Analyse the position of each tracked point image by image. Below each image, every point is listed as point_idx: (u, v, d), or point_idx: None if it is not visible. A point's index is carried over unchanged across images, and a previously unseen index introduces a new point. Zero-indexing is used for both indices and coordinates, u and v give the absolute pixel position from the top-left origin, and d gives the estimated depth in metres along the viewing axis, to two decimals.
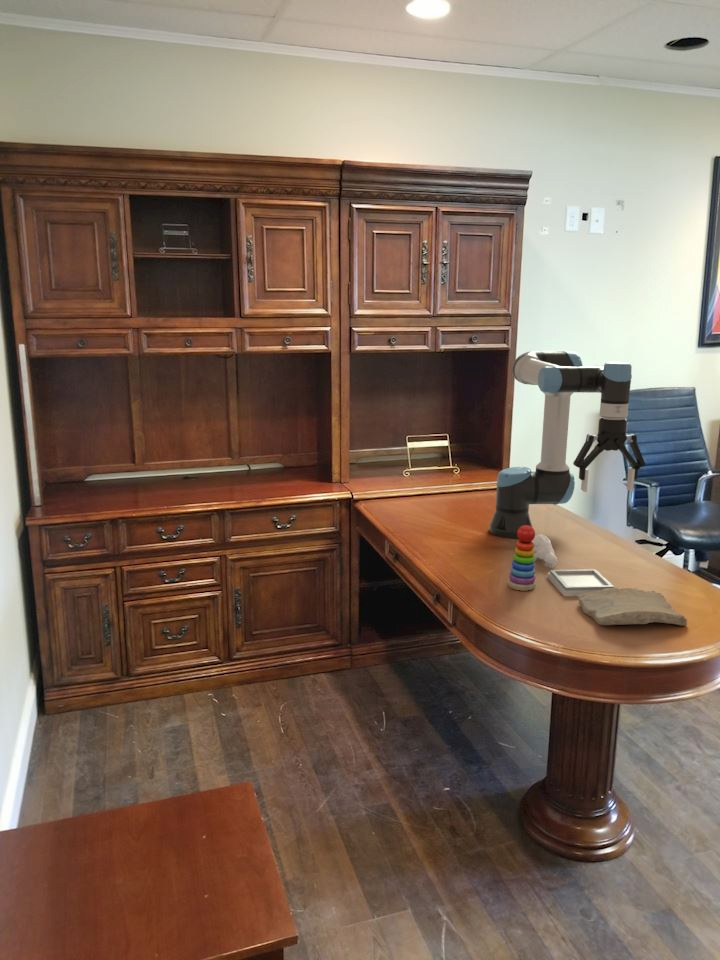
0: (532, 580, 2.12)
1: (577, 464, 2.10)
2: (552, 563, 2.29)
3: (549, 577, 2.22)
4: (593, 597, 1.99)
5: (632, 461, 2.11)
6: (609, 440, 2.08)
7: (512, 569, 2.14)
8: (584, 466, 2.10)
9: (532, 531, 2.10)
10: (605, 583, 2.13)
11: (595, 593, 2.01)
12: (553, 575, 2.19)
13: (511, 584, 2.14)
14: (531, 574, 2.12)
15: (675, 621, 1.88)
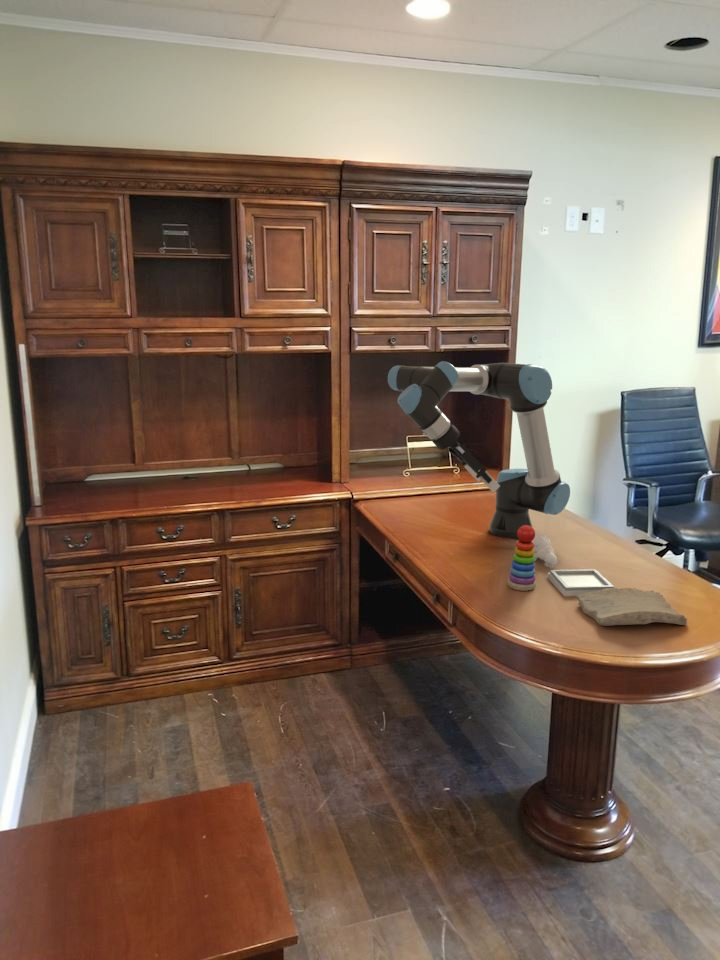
0: (532, 580, 2.12)
1: (458, 460, 2.21)
2: (552, 563, 2.29)
3: (549, 577, 2.22)
4: (593, 598, 1.99)
5: (472, 469, 2.05)
6: (449, 451, 2.11)
7: (512, 569, 2.14)
8: (461, 463, 2.19)
9: (532, 531, 2.10)
10: (605, 583, 2.13)
11: (595, 593, 2.01)
12: (553, 575, 2.19)
13: (511, 584, 2.14)
14: (531, 574, 2.12)
15: (675, 621, 1.88)
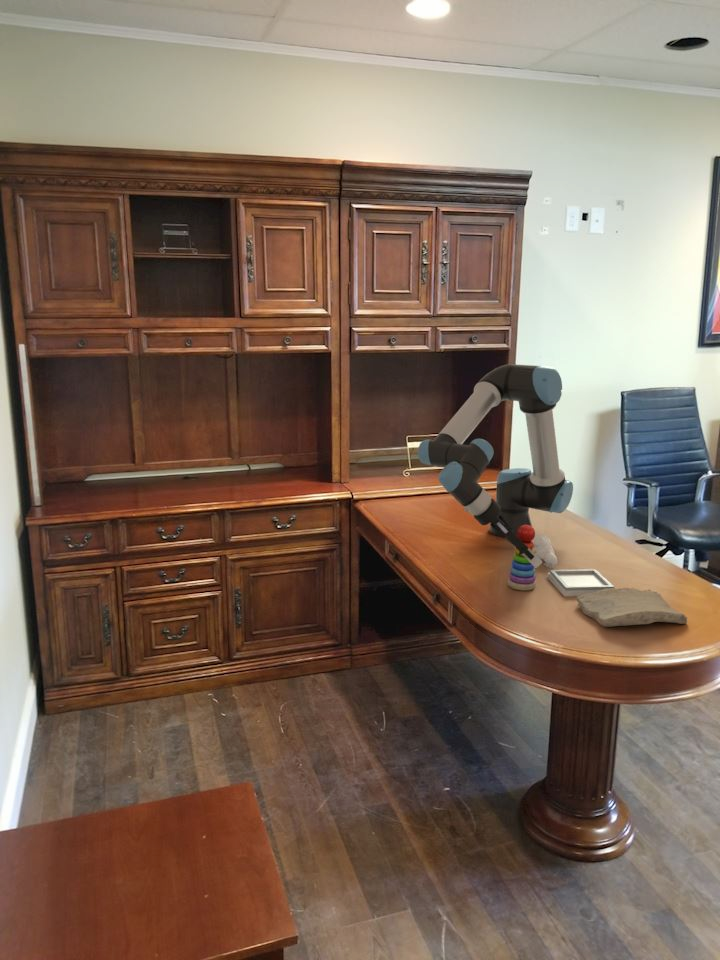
0: (532, 580, 2.12)
1: None
2: (552, 563, 2.29)
3: (549, 577, 2.22)
4: (593, 599, 1.99)
5: None
6: (490, 525, 2.12)
7: (512, 569, 2.14)
8: None
9: (532, 530, 2.10)
10: (605, 583, 2.13)
11: (594, 594, 2.00)
12: (553, 575, 2.19)
13: (511, 584, 2.14)
14: (531, 574, 2.12)
15: (676, 620, 1.89)
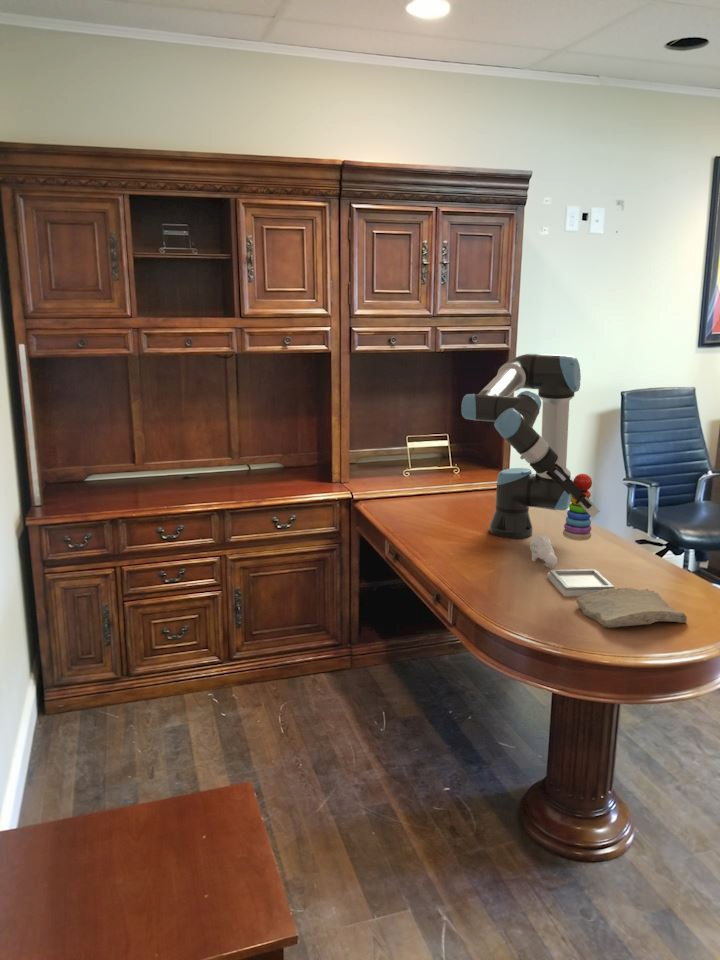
0: (588, 530, 2.09)
1: None
2: (552, 563, 2.29)
3: (549, 577, 2.22)
4: (592, 599, 1.98)
5: (572, 495, 2.06)
6: (546, 473, 2.09)
7: (568, 519, 2.11)
8: (566, 492, 2.14)
9: (589, 479, 2.07)
10: (605, 583, 2.13)
11: (593, 595, 2.00)
12: (553, 575, 2.19)
13: (566, 534, 2.11)
14: (587, 523, 2.09)
15: (677, 619, 1.89)
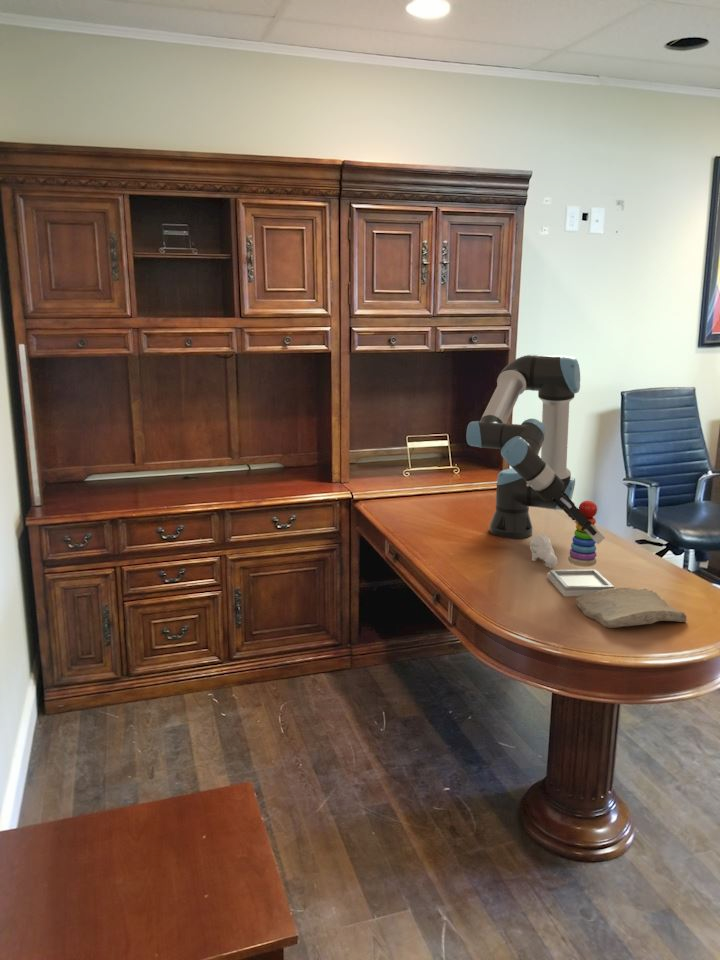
0: (593, 556, 2.11)
1: None
2: (552, 563, 2.29)
3: (549, 577, 2.22)
4: (593, 600, 1.98)
5: (577, 522, 2.08)
6: (552, 500, 2.11)
7: (573, 545, 2.13)
8: (571, 518, 2.16)
9: (594, 506, 2.09)
10: (605, 583, 2.13)
11: (593, 595, 2.00)
12: (553, 575, 2.19)
13: (572, 560, 2.13)
14: (593, 550, 2.11)
15: (677, 618, 1.90)
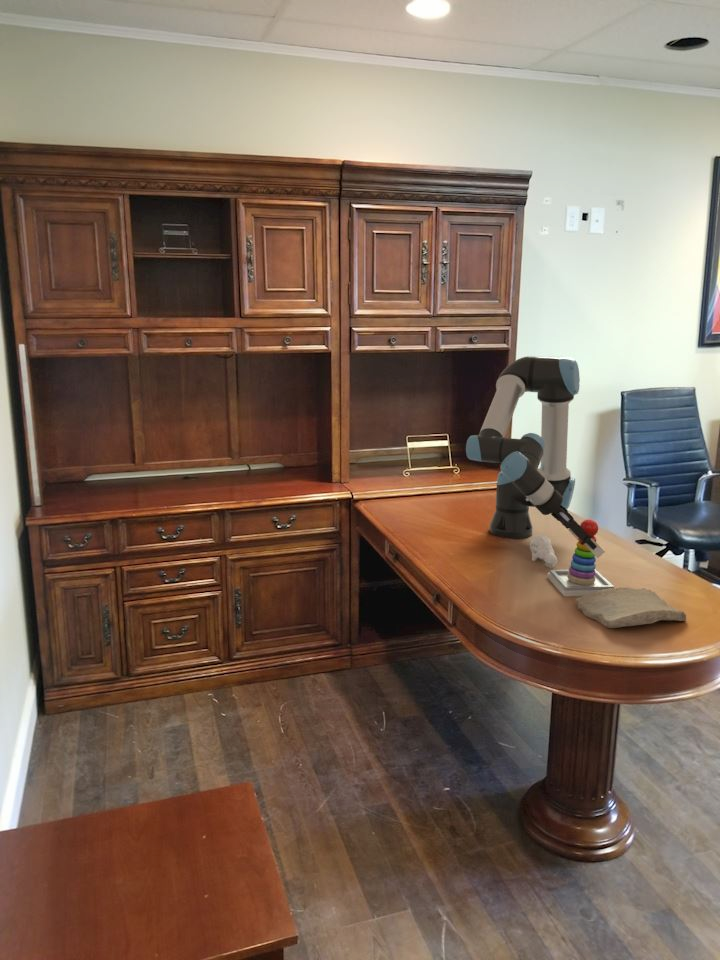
0: (593, 574, 2.13)
1: None
2: (552, 563, 2.29)
3: (549, 577, 2.22)
4: (593, 600, 1.98)
5: (577, 536, 2.07)
6: (551, 514, 2.12)
7: (573, 563, 2.14)
8: None
9: (596, 525, 2.10)
10: (605, 583, 2.13)
11: (593, 595, 1.99)
12: (553, 575, 2.19)
13: (571, 578, 2.14)
14: (592, 568, 2.12)
15: (678, 617, 1.90)
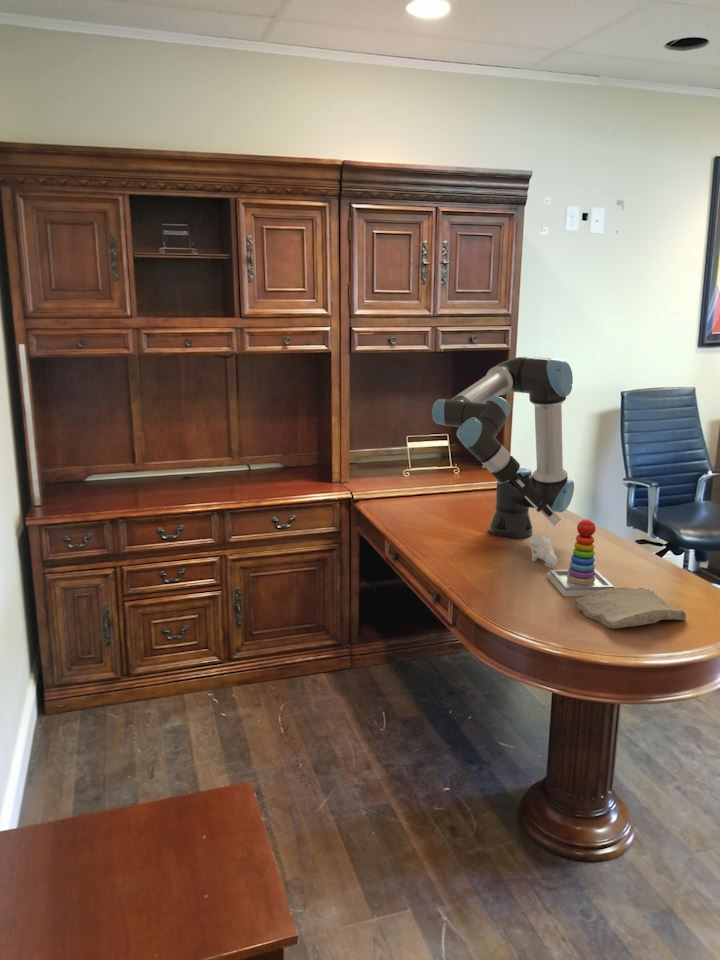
0: (592, 574, 2.13)
1: None
2: (552, 563, 2.29)
3: (549, 577, 2.22)
4: (593, 601, 1.97)
5: (533, 503, 2.03)
6: (509, 482, 2.09)
7: (572, 563, 2.14)
8: (521, 493, 2.17)
9: (593, 525, 2.10)
10: (605, 583, 2.13)
11: (593, 596, 1.99)
12: (553, 575, 2.19)
13: (571, 578, 2.14)
14: (591, 568, 2.12)
15: (678, 617, 1.91)
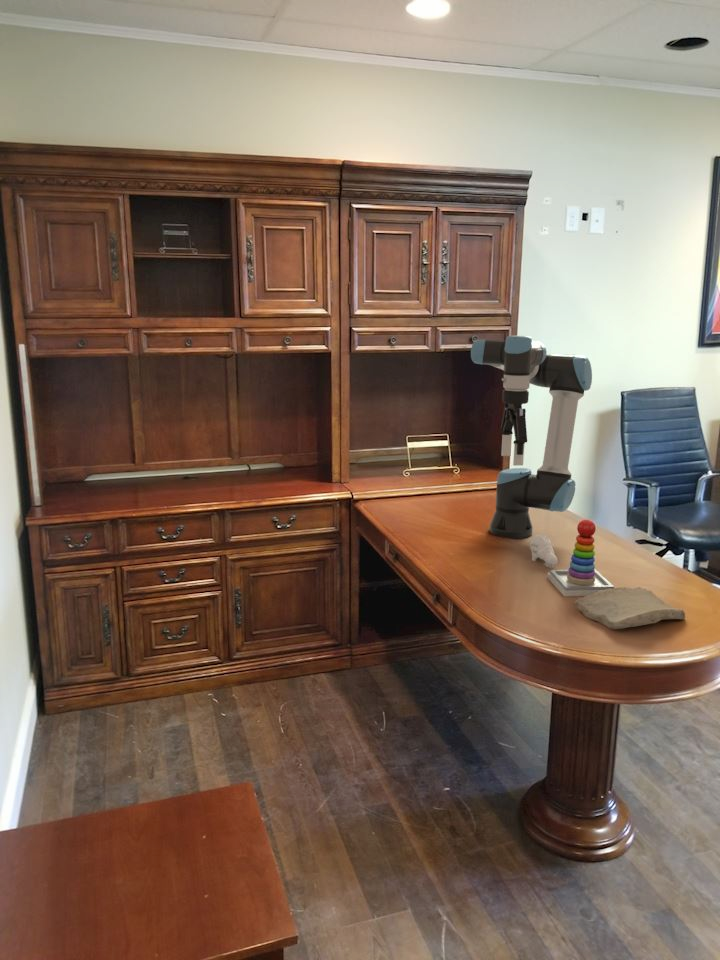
0: (592, 574, 2.13)
1: None
2: (552, 563, 2.29)
3: (549, 577, 2.22)
4: (593, 601, 1.97)
5: (515, 435, 2.13)
6: (507, 409, 2.19)
7: (572, 563, 2.14)
8: (502, 431, 2.27)
9: (593, 525, 2.10)
10: (605, 583, 2.13)
11: (593, 596, 1.99)
12: (553, 575, 2.19)
13: (571, 578, 2.14)
14: (591, 568, 2.12)
15: (678, 616, 1.91)
